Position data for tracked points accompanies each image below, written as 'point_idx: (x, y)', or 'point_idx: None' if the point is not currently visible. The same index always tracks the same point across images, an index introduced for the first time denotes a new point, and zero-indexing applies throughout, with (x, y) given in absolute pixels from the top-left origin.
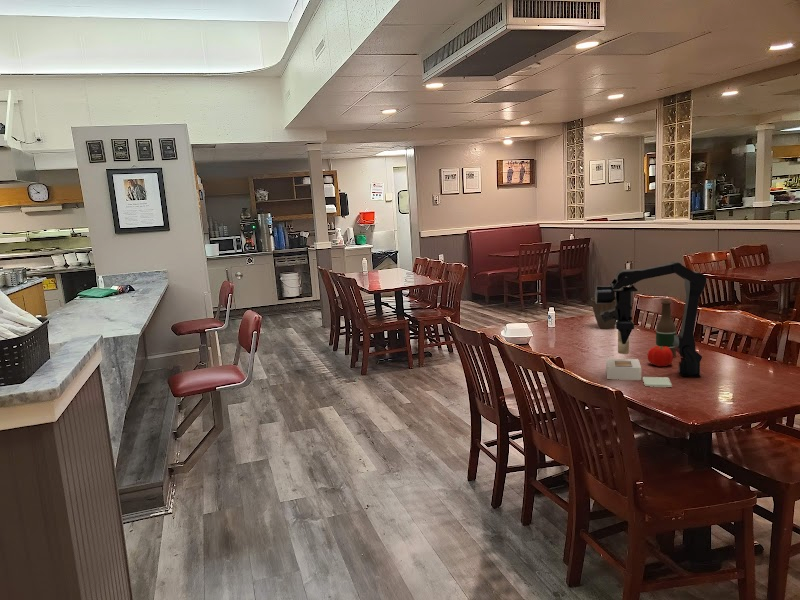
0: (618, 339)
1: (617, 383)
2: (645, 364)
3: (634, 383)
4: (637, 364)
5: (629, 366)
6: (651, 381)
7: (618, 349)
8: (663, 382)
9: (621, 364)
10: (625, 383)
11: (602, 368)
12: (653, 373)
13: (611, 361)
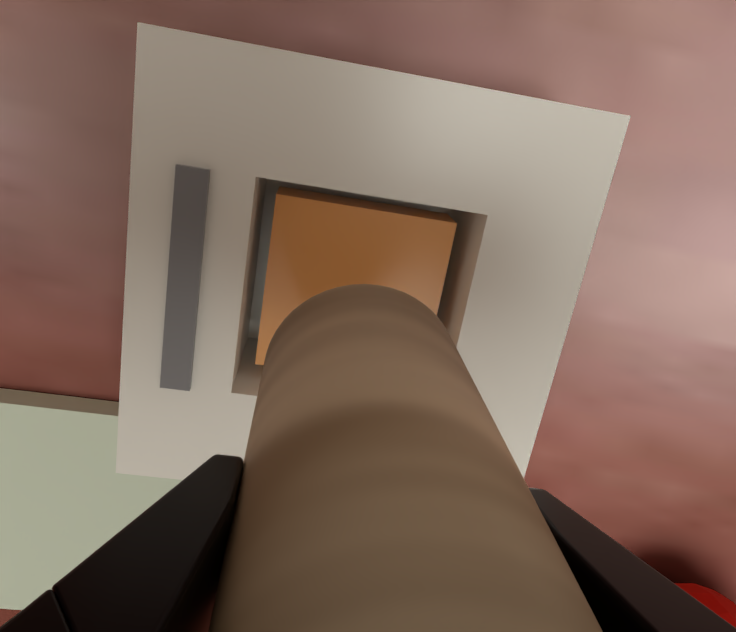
0: (349, 431)
1: (35, 129)
2: (688, 533)
3: (53, 311)
4: None
5: (164, 350)
6: (31, 471)
7: (338, 313)
8: (8, 558)
9: (404, 286)
10: (44, 219)
11: (660, 85)
12: None
13: (458, 163)
